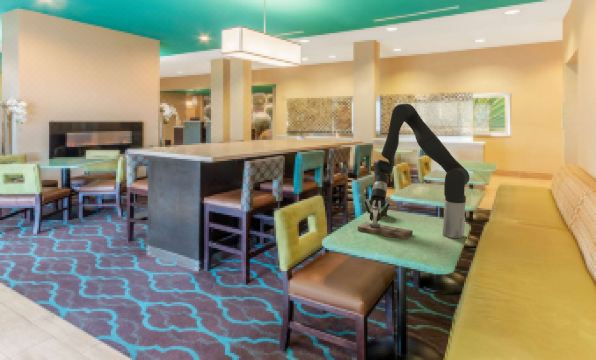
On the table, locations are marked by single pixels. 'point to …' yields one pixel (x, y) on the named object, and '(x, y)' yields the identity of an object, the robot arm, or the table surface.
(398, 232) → the brown wooden board
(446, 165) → the robot arm
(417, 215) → the table surface
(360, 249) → the table surface
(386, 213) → the potted plant
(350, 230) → the table surface
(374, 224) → the fader
